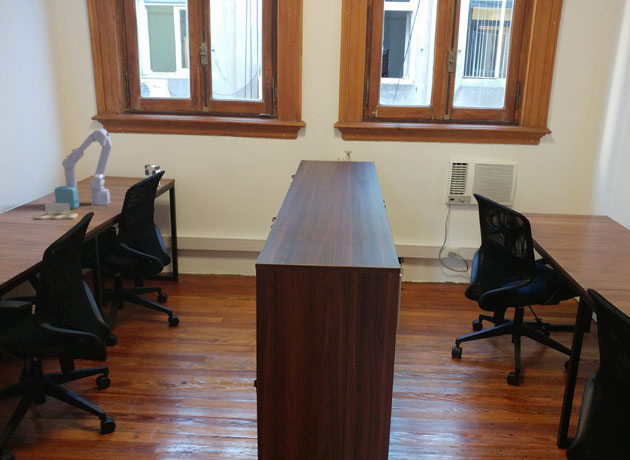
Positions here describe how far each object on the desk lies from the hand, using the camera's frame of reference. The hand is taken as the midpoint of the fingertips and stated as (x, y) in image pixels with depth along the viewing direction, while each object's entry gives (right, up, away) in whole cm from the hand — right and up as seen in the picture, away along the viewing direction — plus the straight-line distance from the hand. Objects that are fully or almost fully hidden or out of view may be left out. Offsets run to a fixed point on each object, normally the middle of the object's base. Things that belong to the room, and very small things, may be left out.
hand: (72, 201), depth 329 cm
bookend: (+4, -10, -29) cm, 31 cm away
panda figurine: (+34, +12, +48) cm, 60 cm away
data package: (+1, -4, -9) cm, 10 cm away
